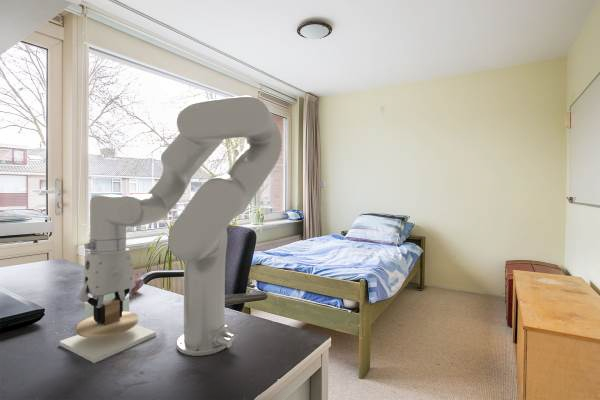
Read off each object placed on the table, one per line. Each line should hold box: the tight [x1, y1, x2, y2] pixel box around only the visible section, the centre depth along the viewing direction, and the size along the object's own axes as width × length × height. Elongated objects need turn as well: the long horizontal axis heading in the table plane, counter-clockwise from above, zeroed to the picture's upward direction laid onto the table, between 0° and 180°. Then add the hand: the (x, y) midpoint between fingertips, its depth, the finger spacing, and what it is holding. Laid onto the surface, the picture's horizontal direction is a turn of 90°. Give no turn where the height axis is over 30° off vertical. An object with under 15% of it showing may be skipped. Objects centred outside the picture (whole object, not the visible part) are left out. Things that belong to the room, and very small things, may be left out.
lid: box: [75, 298, 139, 338], centre depth 79 cm, size 13×13×6 cm
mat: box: [59, 324, 157, 364], centre depth 79 cm, size 15×15×1 cm
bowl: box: [83, 293, 130, 320], centre depth 93 cm, size 11×11×6 cm
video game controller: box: [129, 277, 145, 297], centre depth 112 cm, size 10×5×7 cm, turn 169°
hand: (108, 318), depth 79 cm, fingers closed on lid, 3 cm apart
